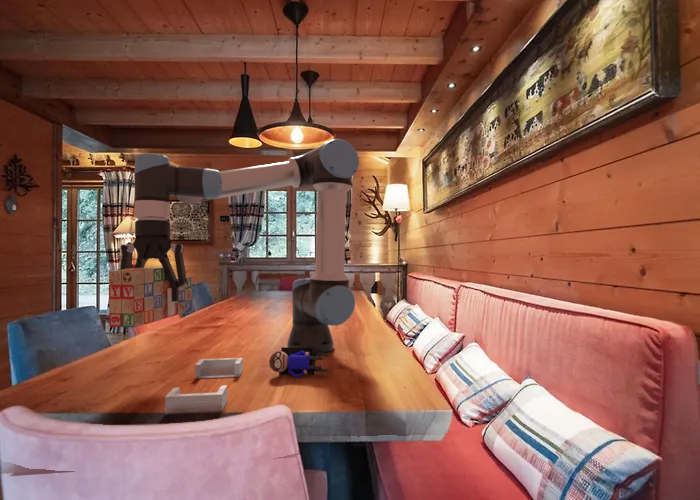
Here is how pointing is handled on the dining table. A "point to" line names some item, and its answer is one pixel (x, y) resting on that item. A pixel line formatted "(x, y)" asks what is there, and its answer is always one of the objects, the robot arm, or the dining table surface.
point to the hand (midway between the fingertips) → (153, 315)
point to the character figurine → (296, 361)
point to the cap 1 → (195, 402)
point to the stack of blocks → (143, 296)
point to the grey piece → (218, 368)
